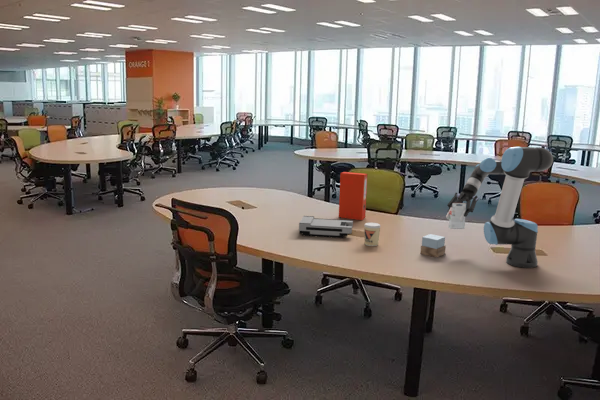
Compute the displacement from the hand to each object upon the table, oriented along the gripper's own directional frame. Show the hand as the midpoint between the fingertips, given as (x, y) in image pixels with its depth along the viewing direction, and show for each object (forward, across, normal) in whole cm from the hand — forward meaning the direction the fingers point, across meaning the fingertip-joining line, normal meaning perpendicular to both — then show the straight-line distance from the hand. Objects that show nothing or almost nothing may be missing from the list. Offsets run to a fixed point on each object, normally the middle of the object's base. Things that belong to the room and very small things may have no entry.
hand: (453, 219), depth 285 cm
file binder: (-1, +92, -27) cm, 96 cm away
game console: (+31, +74, +4) cm, 80 cm away
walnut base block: (+20, +6, -8) cm, 23 cm away
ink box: (+2, 0, -7) cm, 7 cm away
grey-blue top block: (+17, +6, -4) cm, 19 cm away
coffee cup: (+29, +40, +2) cm, 49 cm away
